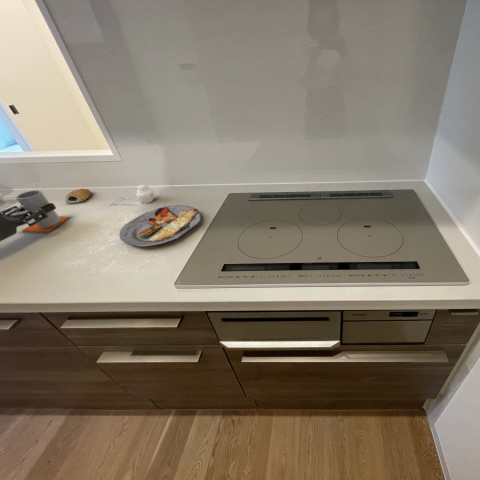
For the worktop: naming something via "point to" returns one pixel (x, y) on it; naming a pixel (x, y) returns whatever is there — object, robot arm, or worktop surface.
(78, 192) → the pastry
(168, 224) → the food plate
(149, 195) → the white lumpy ball
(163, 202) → the worktop surface
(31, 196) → the grey cylindrical cup
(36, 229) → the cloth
